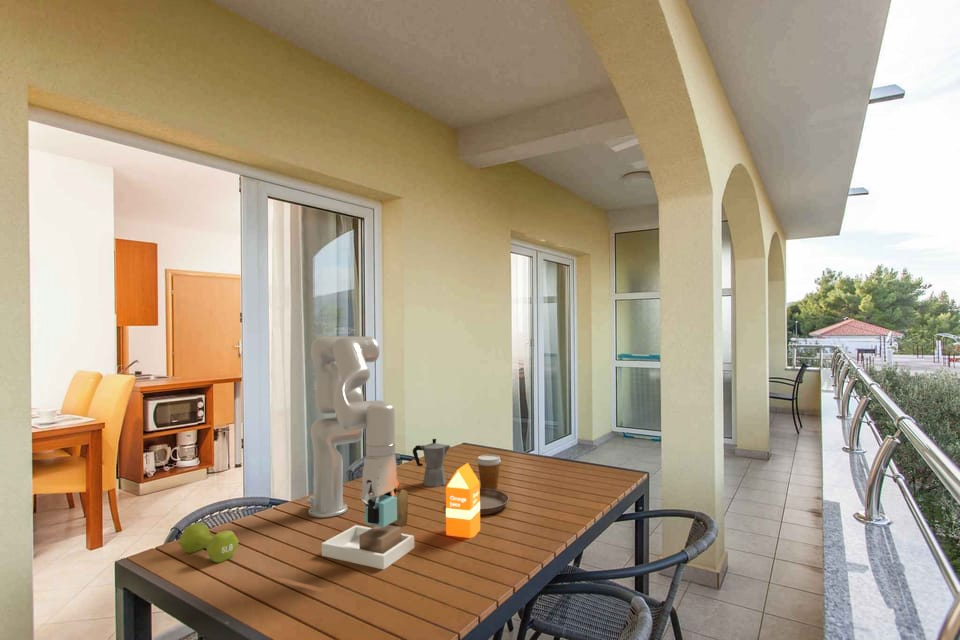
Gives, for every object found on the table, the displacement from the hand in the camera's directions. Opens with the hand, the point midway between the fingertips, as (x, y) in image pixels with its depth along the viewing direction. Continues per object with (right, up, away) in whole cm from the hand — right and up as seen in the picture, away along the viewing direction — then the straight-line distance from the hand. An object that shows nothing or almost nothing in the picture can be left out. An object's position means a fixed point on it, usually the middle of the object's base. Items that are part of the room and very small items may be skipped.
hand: (381, 518), depth 131 cm
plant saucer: (+26, -12, +39) cm, 49 cm away
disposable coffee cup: (+30, -13, +60) cm, 68 cm away
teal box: (0, -1, 0) cm, 1 cm away
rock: (0, -12, +24) cm, 26 cm away
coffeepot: (+7, -13, +67) cm, 69 cm away
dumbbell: (-47, -11, +2) cm, 49 cm away
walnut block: (0, -9, 0) cm, 9 cm away
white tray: (-4, -10, +1) cm, 11 cm away
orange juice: (+21, -11, +15) cm, 28 cm away
